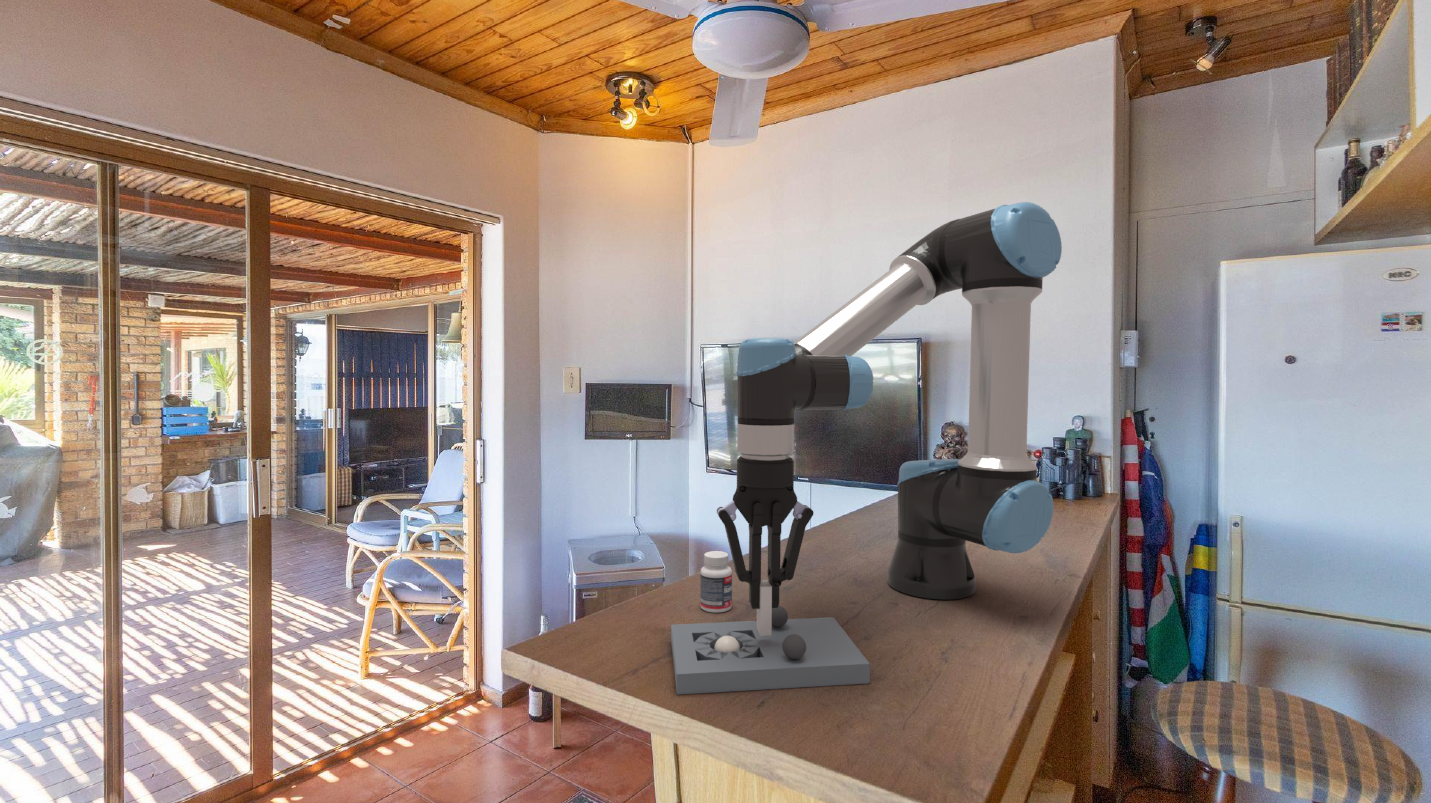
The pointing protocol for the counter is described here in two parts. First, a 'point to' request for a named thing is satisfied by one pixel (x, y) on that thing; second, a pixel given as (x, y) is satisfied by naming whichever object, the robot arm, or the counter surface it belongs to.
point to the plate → (764, 657)
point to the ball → (726, 644)
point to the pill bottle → (716, 583)
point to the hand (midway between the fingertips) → (763, 631)
